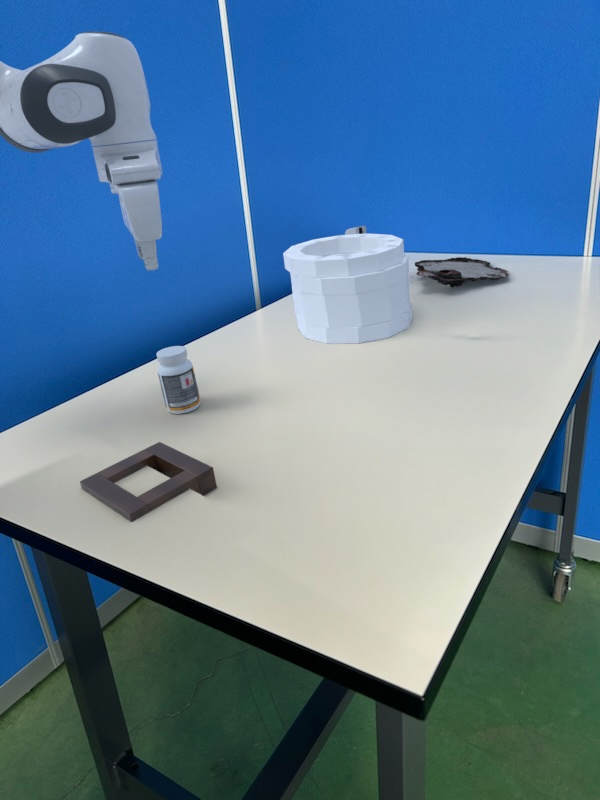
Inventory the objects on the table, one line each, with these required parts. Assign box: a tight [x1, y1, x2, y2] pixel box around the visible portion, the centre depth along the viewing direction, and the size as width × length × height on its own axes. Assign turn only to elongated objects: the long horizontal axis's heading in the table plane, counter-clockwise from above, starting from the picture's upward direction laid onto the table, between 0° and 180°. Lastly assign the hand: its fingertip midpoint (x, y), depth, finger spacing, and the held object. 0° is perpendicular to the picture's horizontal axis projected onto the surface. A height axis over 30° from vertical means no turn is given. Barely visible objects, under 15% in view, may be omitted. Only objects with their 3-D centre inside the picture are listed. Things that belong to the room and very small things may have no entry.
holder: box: [79, 441, 218, 523], centre depth 78 cm, size 12×12×3 cm
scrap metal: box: [414, 256, 510, 289], centre depth 151 cm, size 23×4×30 cm
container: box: [282, 232, 413, 345], centre depth 127 cm, size 25×24×16 cm
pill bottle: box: [156, 345, 201, 415], centre depth 100 cm, size 6×6×10 cm
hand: (148, 263), depth 93 cm, fingers open, 8 cm apart
